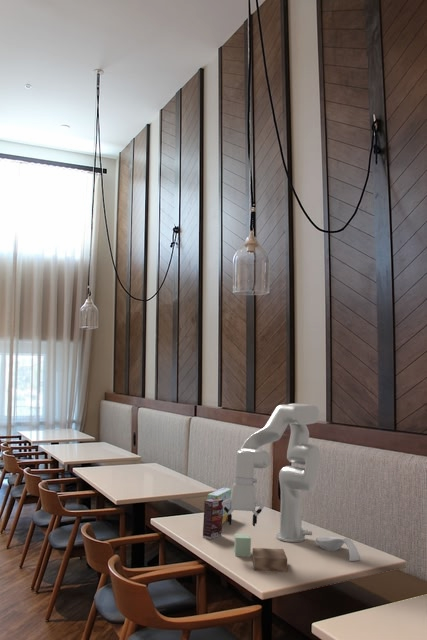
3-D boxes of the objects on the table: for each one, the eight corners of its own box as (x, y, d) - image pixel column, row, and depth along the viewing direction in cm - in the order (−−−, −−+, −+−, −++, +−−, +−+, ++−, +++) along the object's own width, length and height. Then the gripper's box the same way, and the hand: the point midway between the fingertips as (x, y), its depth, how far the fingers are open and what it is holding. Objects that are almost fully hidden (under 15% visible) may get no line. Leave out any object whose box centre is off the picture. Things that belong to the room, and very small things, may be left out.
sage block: (248, 551, 228) (249, 534, 228) (250, 556, 222) (250, 538, 222) (234, 551, 227) (234, 533, 228) (235, 556, 221) (235, 537, 222)
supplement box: (210, 539, 243) (212, 502, 245) (202, 537, 246) (203, 500, 248) (222, 535, 250) (223, 499, 252) (214, 533, 253) (215, 497, 255)
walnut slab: (282, 562, 217) (283, 549, 217) (287, 573, 205) (287, 558, 205) (252, 561, 217) (252, 547, 217) (254, 571, 205) (254, 557, 205)
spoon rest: (310, 545, 240) (310, 528, 241) (333, 543, 245) (333, 526, 245) (343, 563, 218) (343, 544, 219) (367, 560, 223) (367, 542, 224)
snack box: (216, 528, 262) (217, 495, 264) (205, 526, 264) (206, 494, 266) (231, 518, 282) (232, 488, 283) (220, 517, 284) (221, 486, 285)
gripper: (263, 481, 231) (261, 523, 229) (222, 478, 231) (220, 521, 229) (266, 484, 224) (264, 528, 222) (223, 481, 223) (221, 526, 221)
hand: (241, 524), depth 225 cm, fingers open, 9 cm apart
